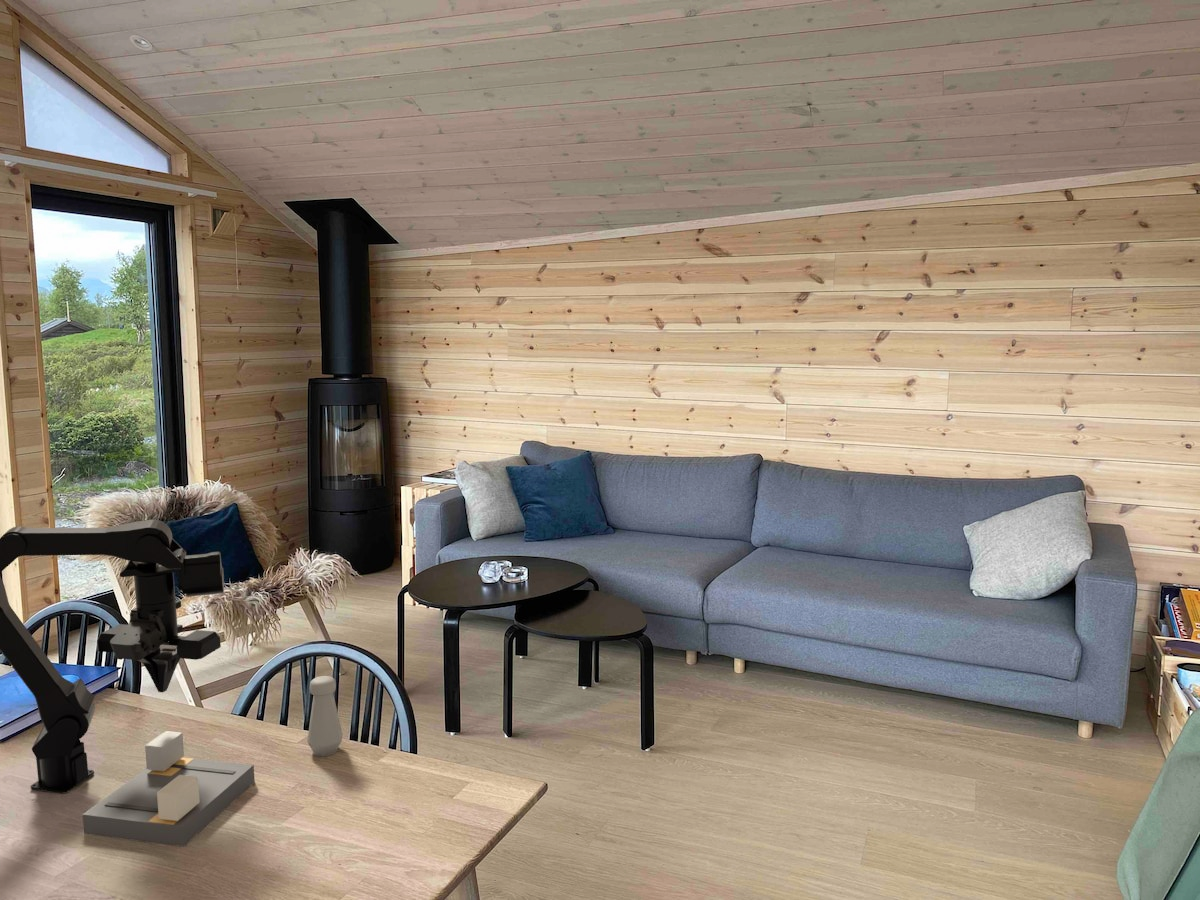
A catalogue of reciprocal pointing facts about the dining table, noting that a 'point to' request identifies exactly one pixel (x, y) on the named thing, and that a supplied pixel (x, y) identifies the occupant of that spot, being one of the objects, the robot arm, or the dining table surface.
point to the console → (137, 803)
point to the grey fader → (164, 751)
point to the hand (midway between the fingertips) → (162, 691)
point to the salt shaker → (324, 718)
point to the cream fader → (178, 797)
